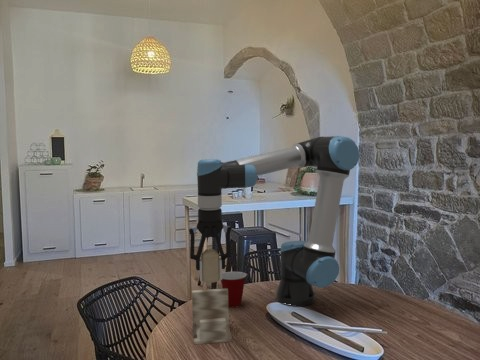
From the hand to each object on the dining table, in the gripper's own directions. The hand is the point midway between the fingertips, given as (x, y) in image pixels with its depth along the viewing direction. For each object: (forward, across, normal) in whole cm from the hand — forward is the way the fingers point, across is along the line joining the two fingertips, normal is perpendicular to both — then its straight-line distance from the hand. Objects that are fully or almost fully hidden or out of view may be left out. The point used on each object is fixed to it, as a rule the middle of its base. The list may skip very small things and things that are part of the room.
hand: (210, 279), depth 133 cm
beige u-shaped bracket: (+18, 0, 0) cm, 18 cm away
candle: (+1, 0, 0) cm, 1 cm away
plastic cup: (+19, -10, -23) cm, 31 cm away
